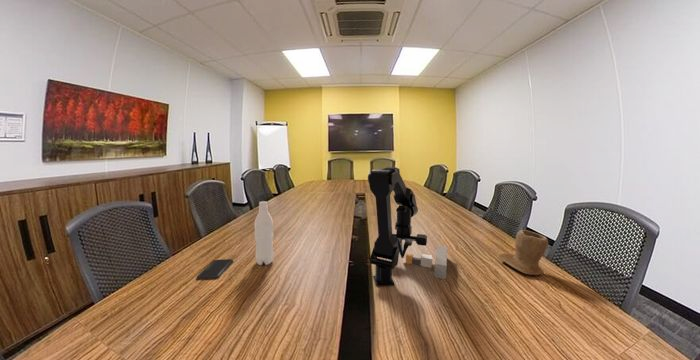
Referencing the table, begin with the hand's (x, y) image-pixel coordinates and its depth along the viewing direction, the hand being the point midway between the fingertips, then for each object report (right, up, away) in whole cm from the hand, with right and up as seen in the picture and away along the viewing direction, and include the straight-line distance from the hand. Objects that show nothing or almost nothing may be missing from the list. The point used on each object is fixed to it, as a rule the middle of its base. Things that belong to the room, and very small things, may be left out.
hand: (402, 257), depth 107 cm
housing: (+14, -2, -5) cm, 15 cm away
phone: (-73, -3, -9) cm, 74 cm away
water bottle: (-56, -2, -2) cm, 56 cm away
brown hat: (+46, -3, -6) cm, 47 cm away
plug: (+6, -2, -2) cm, 7 cm away
